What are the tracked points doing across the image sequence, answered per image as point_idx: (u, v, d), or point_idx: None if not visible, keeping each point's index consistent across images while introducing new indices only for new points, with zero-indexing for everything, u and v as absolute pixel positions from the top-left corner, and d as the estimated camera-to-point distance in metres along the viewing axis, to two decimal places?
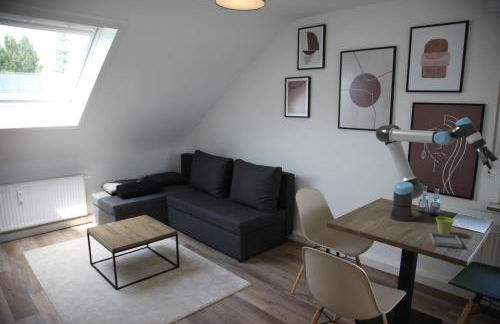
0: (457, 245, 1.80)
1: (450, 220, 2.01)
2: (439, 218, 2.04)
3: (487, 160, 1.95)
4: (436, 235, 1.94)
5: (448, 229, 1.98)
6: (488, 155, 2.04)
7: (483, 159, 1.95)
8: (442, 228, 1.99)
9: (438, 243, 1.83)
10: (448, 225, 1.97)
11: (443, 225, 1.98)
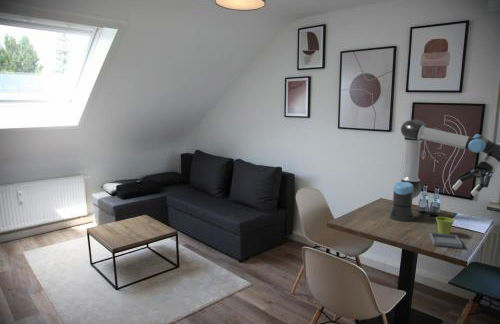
0: (457, 245, 1.80)
1: (450, 220, 2.01)
2: (439, 218, 2.04)
3: None
4: (436, 235, 1.94)
5: (448, 229, 1.98)
6: (469, 176, 2.04)
7: (487, 182, 1.91)
8: (442, 228, 1.99)
9: (438, 243, 1.83)
10: (448, 225, 1.97)
11: (443, 225, 1.98)
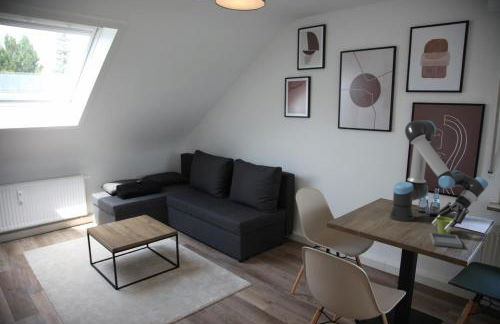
0: (457, 245, 1.80)
1: (450, 220, 2.01)
2: (439, 218, 2.04)
3: None
4: (436, 235, 1.94)
5: None
6: (449, 211, 2.03)
7: (461, 219, 1.93)
8: (442, 228, 1.99)
9: (438, 243, 1.83)
10: None
11: (443, 225, 1.98)
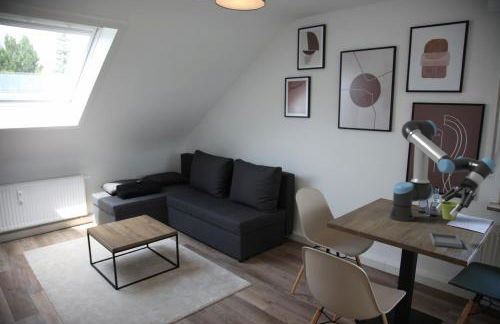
0: (457, 245, 1.80)
1: (456, 204, 1.87)
2: (444, 203, 1.90)
3: None
4: (436, 235, 1.94)
5: None
6: (454, 195, 1.89)
7: (468, 203, 1.78)
8: (447, 213, 1.84)
9: (438, 243, 1.83)
10: None
11: (448, 210, 1.83)
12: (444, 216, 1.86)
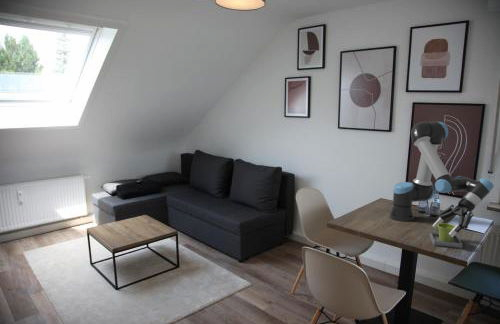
0: (457, 245, 1.80)
1: (453, 227, 1.88)
2: (441, 225, 1.90)
3: None
4: (436, 235, 1.94)
5: (450, 237, 1.84)
6: (450, 214, 1.90)
7: (467, 223, 1.78)
8: (444, 235, 1.85)
9: (438, 243, 1.83)
10: None
11: (445, 232, 1.84)
12: (441, 238, 1.87)
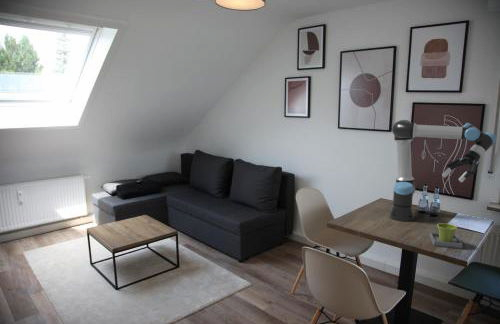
0: (457, 245, 1.80)
1: (452, 227, 1.88)
2: (440, 225, 1.90)
3: None
4: (436, 235, 1.94)
5: (450, 237, 1.84)
6: (458, 164, 2.15)
7: (474, 170, 2.02)
8: (444, 235, 1.85)
9: (438, 243, 1.83)
10: (450, 233, 1.83)
11: (445, 232, 1.84)
12: (440, 239, 1.87)
